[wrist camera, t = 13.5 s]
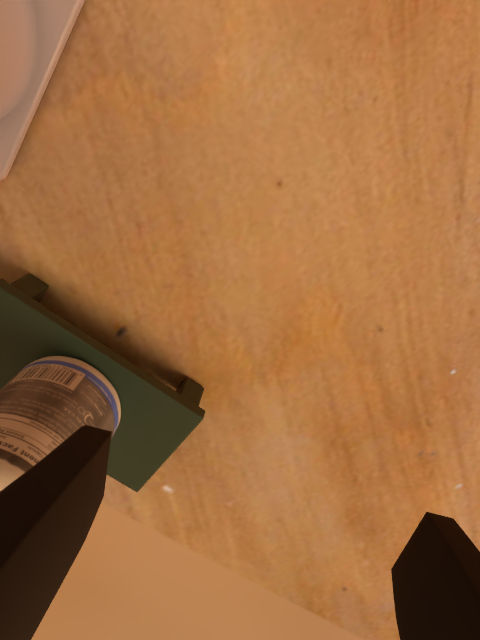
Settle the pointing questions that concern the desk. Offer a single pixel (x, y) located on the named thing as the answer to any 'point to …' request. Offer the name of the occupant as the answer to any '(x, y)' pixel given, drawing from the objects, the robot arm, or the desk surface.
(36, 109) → the robot arm
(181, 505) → the desk surface
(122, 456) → the green footed tray
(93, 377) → the pill bottle
